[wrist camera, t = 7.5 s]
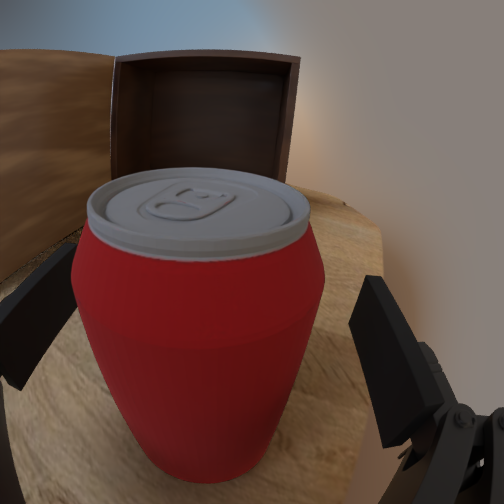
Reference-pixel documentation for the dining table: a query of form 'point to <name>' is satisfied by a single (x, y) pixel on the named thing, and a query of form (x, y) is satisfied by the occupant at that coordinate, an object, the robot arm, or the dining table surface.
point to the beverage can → (198, 310)
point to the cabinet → (203, 111)
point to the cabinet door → (50, 146)
